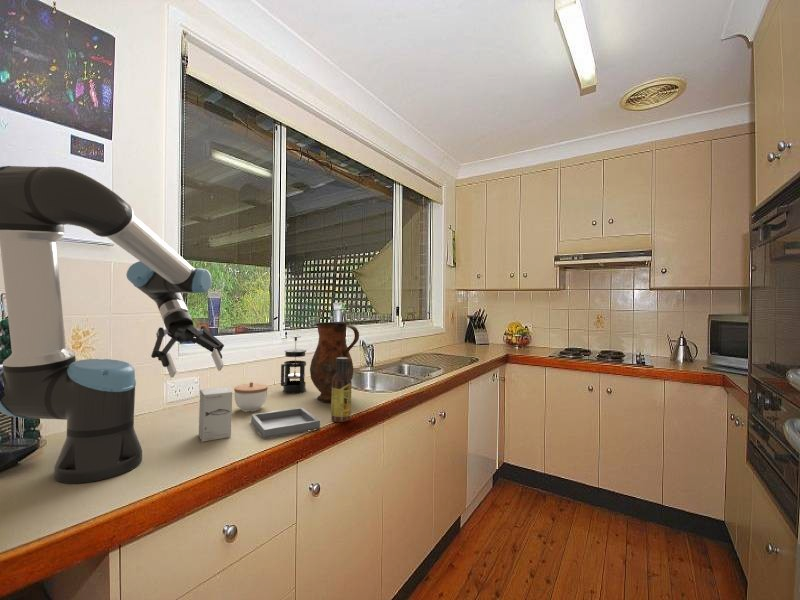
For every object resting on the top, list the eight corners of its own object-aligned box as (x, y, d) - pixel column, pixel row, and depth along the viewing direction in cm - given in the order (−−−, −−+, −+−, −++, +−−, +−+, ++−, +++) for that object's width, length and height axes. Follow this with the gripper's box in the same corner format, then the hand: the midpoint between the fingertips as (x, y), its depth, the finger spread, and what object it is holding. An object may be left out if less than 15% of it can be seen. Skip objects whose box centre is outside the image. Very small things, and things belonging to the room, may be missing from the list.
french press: (297, 386, 165) (298, 334, 165) (311, 390, 159) (313, 335, 159) (274, 391, 155) (275, 336, 155) (289, 395, 150) (290, 337, 150)
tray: (264, 438, 102) (264, 429, 102) (251, 422, 116) (251, 414, 116) (319, 429, 111) (320, 420, 111) (301, 414, 124) (302, 407, 124)
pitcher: (329, 392, 157) (331, 320, 157) (370, 400, 145) (371, 322, 145) (299, 400, 143) (300, 321, 143) (340, 410, 131) (342, 324, 131)
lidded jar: (249, 403, 137) (249, 377, 137) (273, 407, 133) (274, 380, 133) (226, 411, 127) (227, 383, 127) (252, 415, 123) (253, 386, 123)
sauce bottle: (346, 424, 116) (348, 359, 117) (327, 422, 118) (329, 358, 118) (353, 417, 123) (354, 357, 123) (335, 416, 124) (336, 356, 124)
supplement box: (201, 442, 99) (202, 394, 99) (198, 434, 105) (199, 388, 105) (231, 437, 103) (232, 391, 103) (227, 429, 109) (228, 386, 109)
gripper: (211, 323, 131) (233, 372, 122) (127, 327, 111) (146, 385, 102) (219, 309, 128) (243, 358, 119) (134, 310, 108) (155, 369, 99)
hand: (198, 371), depth 110 cm, fingers open, 13 cm apart
